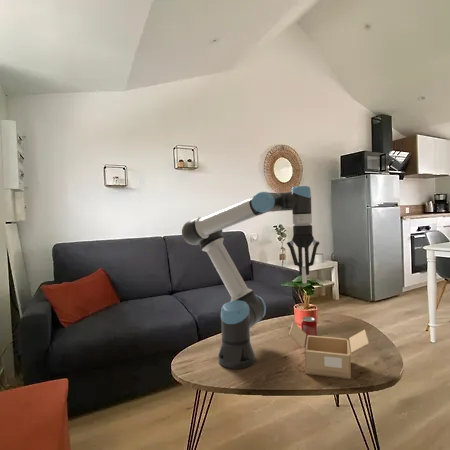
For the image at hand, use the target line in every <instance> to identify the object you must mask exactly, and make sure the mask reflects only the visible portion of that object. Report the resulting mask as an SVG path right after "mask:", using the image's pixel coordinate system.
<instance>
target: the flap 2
mask: <svg viewBox="0 0 450 450" xmlns="http://www.w3.org/2000/svg"><path fill="white" fill-rule="evenodd" d="M348 341H349V348H350V354H354V353H356V352H358V351H360V350H362V349H364V348H365V347H366V348H367V346H369V345H370V341H369V338H368V335H367V331H366V329H363V330H361V331H359V332H358V333H356V334H354V335H352V336H350V337H349V338H348Z"/></svg>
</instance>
